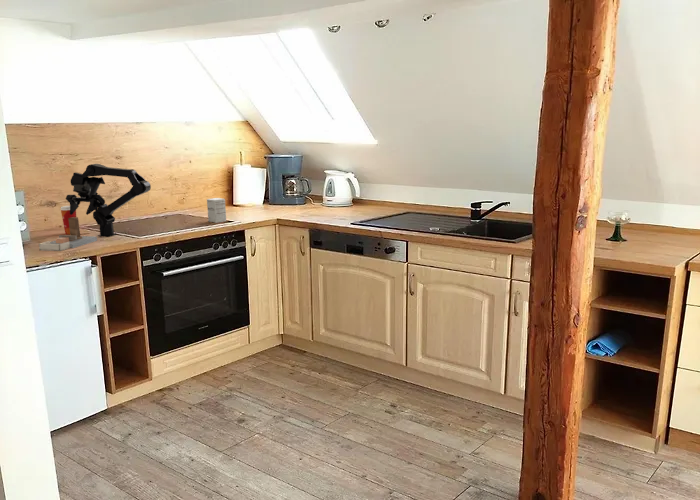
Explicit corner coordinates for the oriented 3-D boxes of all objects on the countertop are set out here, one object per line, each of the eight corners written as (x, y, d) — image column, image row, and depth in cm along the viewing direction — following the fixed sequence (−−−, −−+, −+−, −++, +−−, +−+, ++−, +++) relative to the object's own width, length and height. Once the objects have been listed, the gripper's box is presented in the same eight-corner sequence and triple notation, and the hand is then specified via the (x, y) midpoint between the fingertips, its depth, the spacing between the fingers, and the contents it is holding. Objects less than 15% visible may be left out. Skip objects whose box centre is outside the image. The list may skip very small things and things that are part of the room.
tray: (49, 247, 284) (49, 240, 284) (70, 248, 281) (69, 241, 281) (39, 250, 278) (38, 243, 277) (60, 251, 275) (59, 244, 275)
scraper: (70, 237, 295) (67, 217, 293) (86, 238, 293) (83, 217, 291) (59, 240, 289) (56, 219, 286) (75, 241, 286) (73, 220, 284)
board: (72, 239, 301) (71, 235, 300) (97, 240, 297) (96, 236, 296) (47, 247, 285) (46, 242, 284) (72, 248, 281) (72, 243, 280)
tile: (62, 241, 287) (61, 237, 286) (69, 241, 286) (68, 237, 285) (56, 243, 283) (55, 238, 283) (63, 243, 282) (62, 239, 282)
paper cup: (67, 232, 321) (64, 205, 318) (82, 232, 321) (78, 205, 318) (60, 235, 313) (56, 207, 310) (75, 234, 313) (71, 207, 310)
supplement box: (207, 221, 342) (206, 199, 340) (219, 219, 348) (217, 197, 345) (215, 223, 337) (214, 200, 335) (226, 221, 343) (225, 198, 340)
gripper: (65, 178, 298) (52, 204, 290) (98, 177, 293) (85, 204, 285) (78, 192, 307) (66, 217, 299) (110, 192, 302) (98, 218, 294)
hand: (78, 214), depth 294 cm, fingers open, 9 cm apart
